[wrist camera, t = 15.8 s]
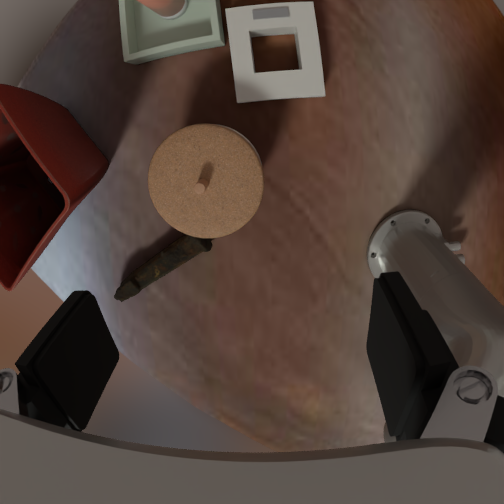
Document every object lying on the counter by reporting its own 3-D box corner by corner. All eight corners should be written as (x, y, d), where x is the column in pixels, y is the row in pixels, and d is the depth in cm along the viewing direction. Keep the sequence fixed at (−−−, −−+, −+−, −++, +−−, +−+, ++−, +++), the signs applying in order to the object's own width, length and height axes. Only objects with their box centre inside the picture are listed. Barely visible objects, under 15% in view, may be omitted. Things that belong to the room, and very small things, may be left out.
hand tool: (199, 219, 45) (191, 231, 40) (215, 241, 46) (209, 256, 42) (111, 274, 50) (99, 289, 46) (126, 293, 51) (115, 308, 47)
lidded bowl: (209, 100, 37) (187, 99, 27) (286, 161, 40) (290, 180, 30) (154, 174, 42) (120, 198, 32) (226, 229, 45) (212, 268, 35)
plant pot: (7, 161, 41) (-63, 192, 26) (65, 75, 35) (-16, 78, 20) (69, 241, 47) (8, 295, 32) (139, 165, 41) (73, 203, 26)
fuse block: (309, 10, 31) (313, 0, 27) (320, 96, 36) (325, 96, 32) (229, 17, 32) (224, 8, 28) (240, 103, 37) (236, 103, 33)
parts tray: (214, -42, 28) (208, -53, 24) (225, 45, 34) (220, 39, 30) (129, -20, 29) (117, -28, 25) (136, 64, 35) (123, 61, 31)
